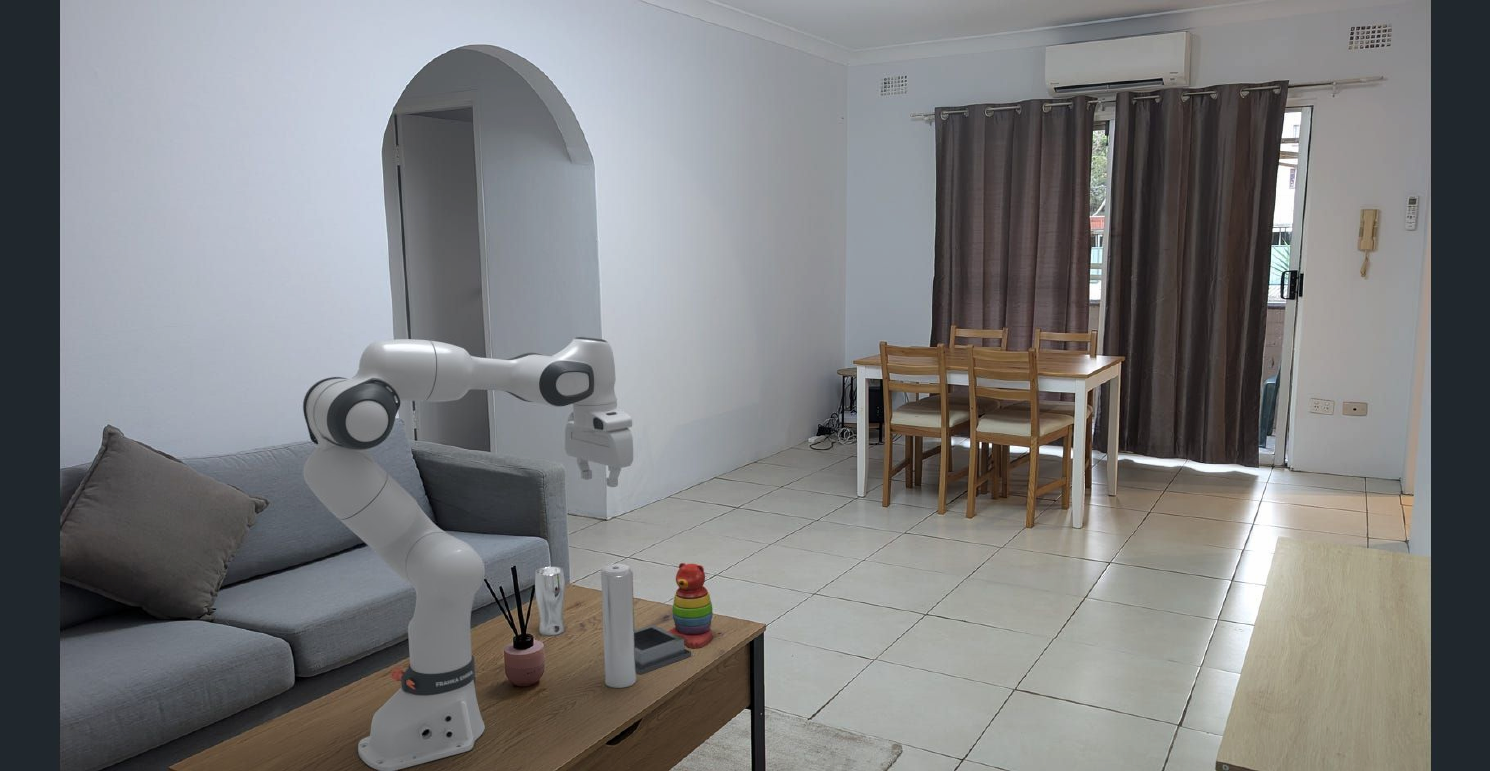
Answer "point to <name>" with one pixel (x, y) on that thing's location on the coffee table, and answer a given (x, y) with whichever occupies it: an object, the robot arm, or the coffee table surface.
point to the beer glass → (550, 599)
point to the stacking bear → (692, 607)
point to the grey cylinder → (618, 625)
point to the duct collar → (657, 648)
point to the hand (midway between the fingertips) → (599, 482)
